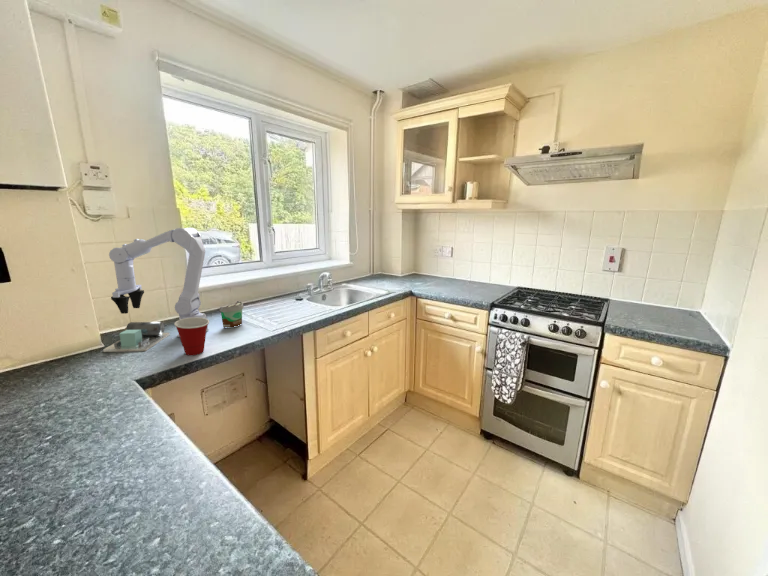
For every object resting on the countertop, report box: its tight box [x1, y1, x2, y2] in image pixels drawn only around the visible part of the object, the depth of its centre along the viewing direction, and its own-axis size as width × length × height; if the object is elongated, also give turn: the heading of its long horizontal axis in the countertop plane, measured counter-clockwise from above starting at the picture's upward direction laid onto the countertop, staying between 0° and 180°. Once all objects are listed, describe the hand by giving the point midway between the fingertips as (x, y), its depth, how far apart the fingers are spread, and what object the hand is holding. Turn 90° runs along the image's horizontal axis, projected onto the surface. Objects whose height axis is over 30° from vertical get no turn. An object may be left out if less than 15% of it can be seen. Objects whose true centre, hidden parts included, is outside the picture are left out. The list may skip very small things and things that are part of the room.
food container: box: [219, 300, 245, 328], centre depth 144 cm, size 12×6×10 cm, turn 168°
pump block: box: [118, 329, 142, 346], centre depth 118 cm, size 5×4×5 cm
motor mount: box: [102, 321, 171, 353], centre depth 122 cm, size 14×16×7 cm
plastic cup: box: [174, 317, 210, 356], centre depth 114 cm, size 11×11×12 cm
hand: (130, 310), depth 129 cm, fingers open, 7 cm apart
